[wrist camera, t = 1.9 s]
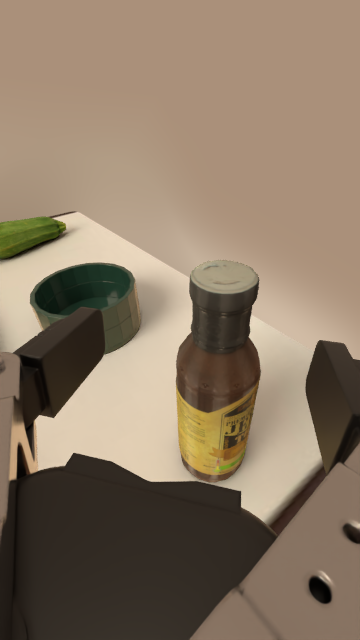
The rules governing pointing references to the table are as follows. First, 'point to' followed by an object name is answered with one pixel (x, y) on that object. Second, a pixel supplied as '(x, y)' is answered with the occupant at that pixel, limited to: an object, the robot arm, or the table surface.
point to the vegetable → (27, 234)
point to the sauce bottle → (217, 370)
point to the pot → (91, 299)
